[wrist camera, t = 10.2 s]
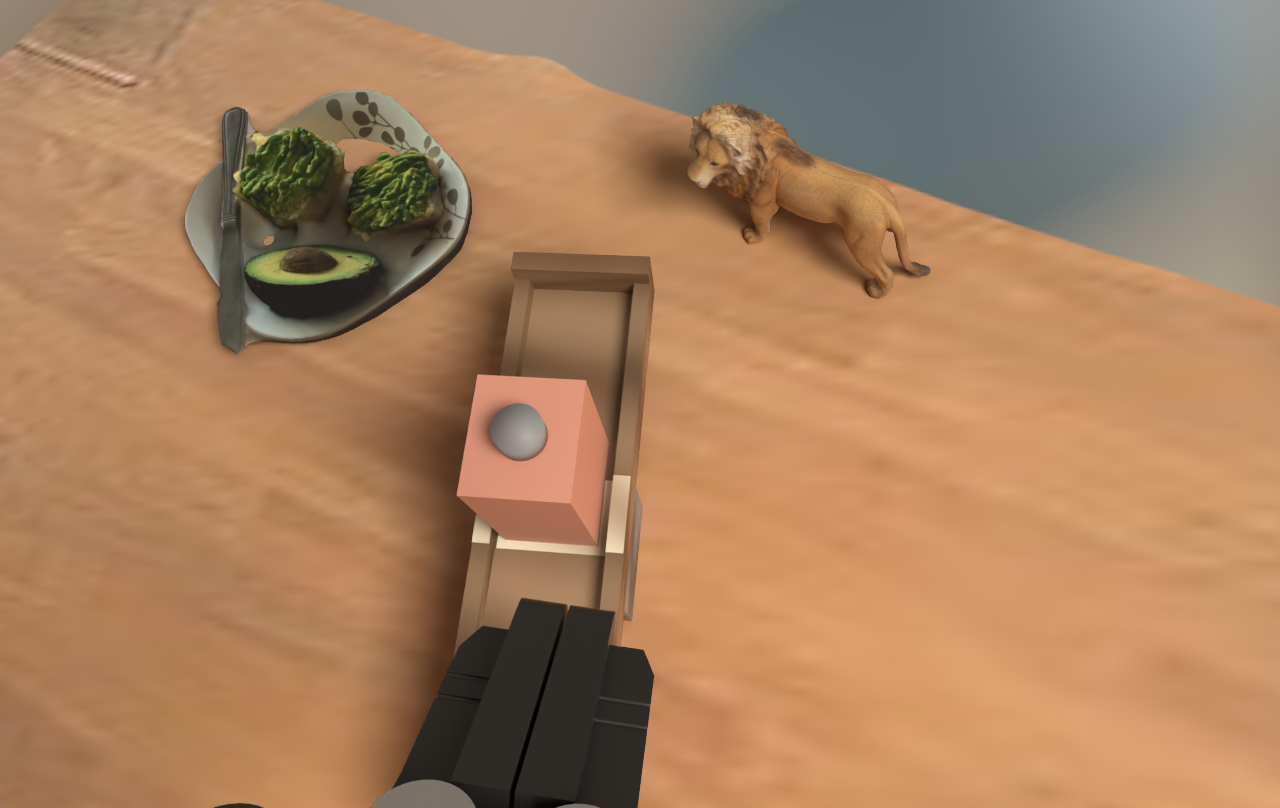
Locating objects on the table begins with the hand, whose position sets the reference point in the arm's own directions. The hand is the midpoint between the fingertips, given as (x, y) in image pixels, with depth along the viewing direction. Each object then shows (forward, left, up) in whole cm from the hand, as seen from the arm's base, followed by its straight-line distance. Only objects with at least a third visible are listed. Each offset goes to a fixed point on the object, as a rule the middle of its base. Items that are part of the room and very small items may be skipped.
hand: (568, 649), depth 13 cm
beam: (+7, +6, -30) cm, 31 cm away
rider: (+9, +6, -24) cm, 26 cm away
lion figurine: (+27, -6, -30) cm, 41 cm away
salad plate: (+27, +24, -30) cm, 47 cm away
